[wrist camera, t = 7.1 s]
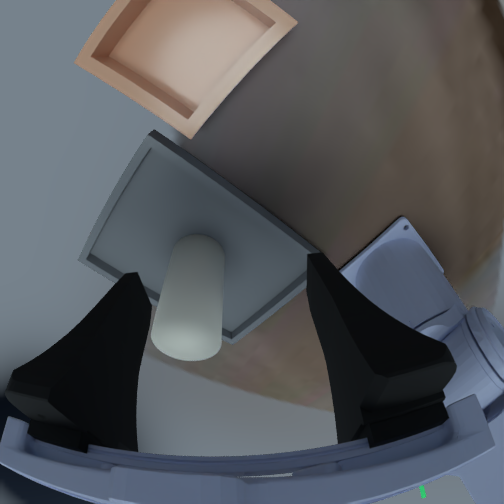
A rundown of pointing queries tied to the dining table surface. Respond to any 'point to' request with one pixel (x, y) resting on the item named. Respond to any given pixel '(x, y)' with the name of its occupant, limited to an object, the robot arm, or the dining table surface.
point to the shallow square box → (182, 52)
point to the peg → (191, 300)
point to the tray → (196, 222)
